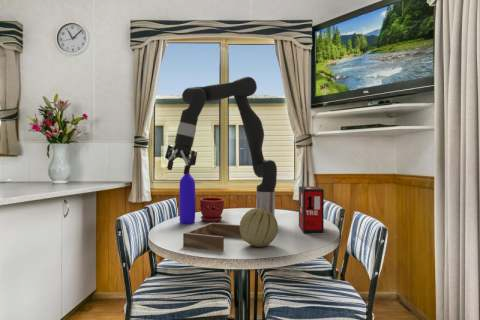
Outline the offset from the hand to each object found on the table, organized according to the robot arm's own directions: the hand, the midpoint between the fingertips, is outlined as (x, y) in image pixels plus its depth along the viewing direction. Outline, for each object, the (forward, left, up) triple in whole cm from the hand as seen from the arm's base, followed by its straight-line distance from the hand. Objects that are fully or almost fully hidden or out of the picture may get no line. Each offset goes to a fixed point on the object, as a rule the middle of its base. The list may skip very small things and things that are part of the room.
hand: (177, 172), depth 140 cm
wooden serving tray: (-2, +18, -28) cm, 33 cm away
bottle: (-32, -14, -28) cm, 45 cm away
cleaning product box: (-40, +49, -28) cm, 69 cm away
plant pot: (-43, -5, -28) cm, 52 cm away
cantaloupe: (-2, +36, -28) cm, 45 cm away
